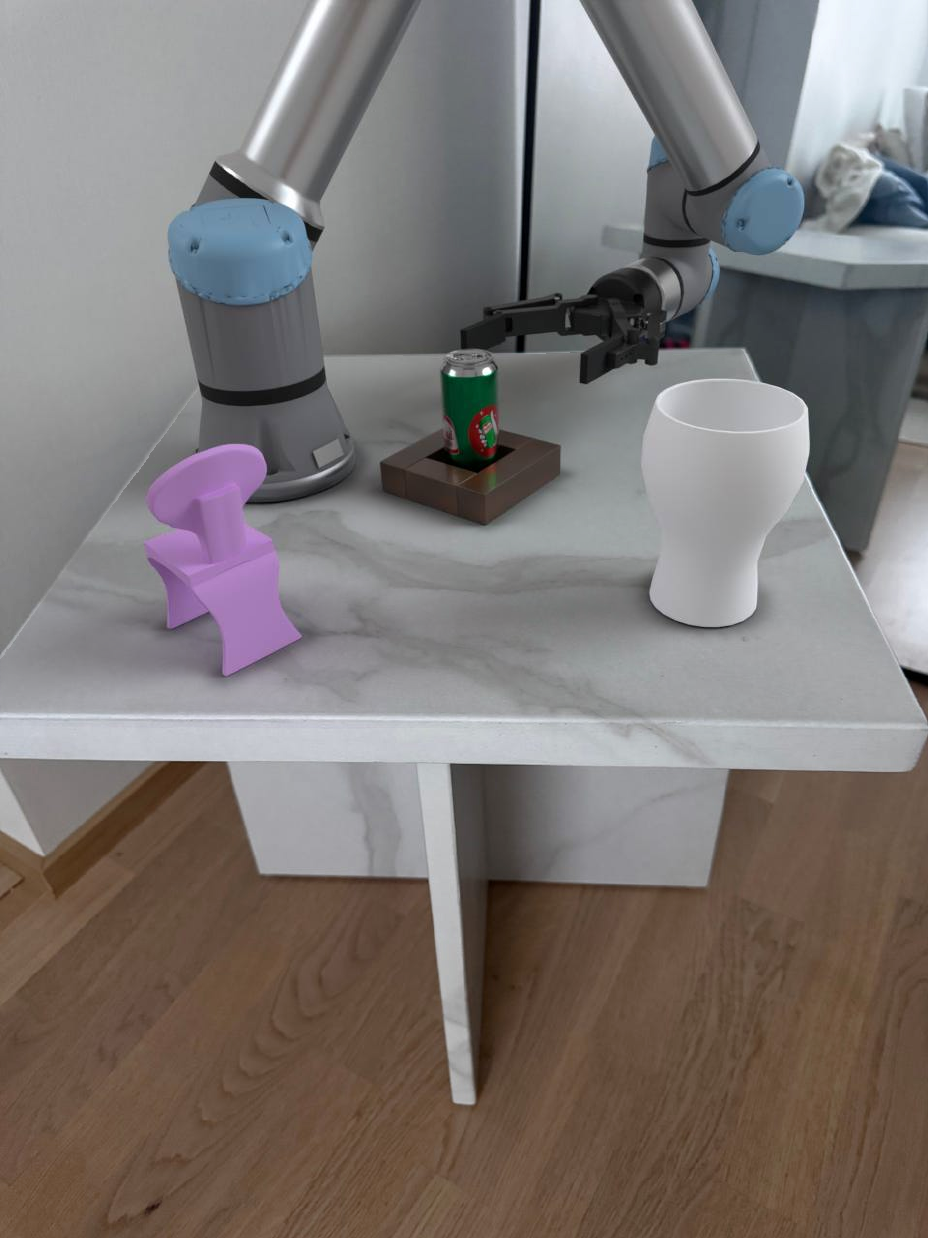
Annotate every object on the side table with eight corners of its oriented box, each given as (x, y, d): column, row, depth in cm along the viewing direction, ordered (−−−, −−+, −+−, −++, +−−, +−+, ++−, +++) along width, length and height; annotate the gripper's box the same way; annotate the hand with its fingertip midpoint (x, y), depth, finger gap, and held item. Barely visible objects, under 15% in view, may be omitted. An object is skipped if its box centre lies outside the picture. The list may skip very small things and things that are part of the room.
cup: (784, 647, 59) (828, 440, 50) (626, 633, 61) (643, 432, 52) (771, 566, 67) (807, 377, 59) (632, 556, 69) (648, 372, 61)
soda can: (444, 472, 83) (437, 348, 76) (496, 469, 83) (494, 345, 77) (447, 496, 79) (440, 367, 72) (502, 492, 79) (500, 363, 72)
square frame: (382, 490, 81) (379, 461, 79) (460, 446, 88) (459, 418, 86) (485, 525, 74) (484, 494, 73) (560, 474, 82) (561, 444, 80)
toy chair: (249, 586, 68) (209, 402, 59) (313, 631, 62) (280, 437, 54) (151, 630, 63) (93, 439, 55) (212, 684, 58) (157, 481, 49)
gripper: (735, 355, 90) (636, 422, 77) (536, 320, 103) (421, 371, 90) (746, 280, 86) (643, 337, 72) (536, 253, 99) (417, 296, 85)
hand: (520, 356), depth 81 cm, fingers open, 13 cm apart
